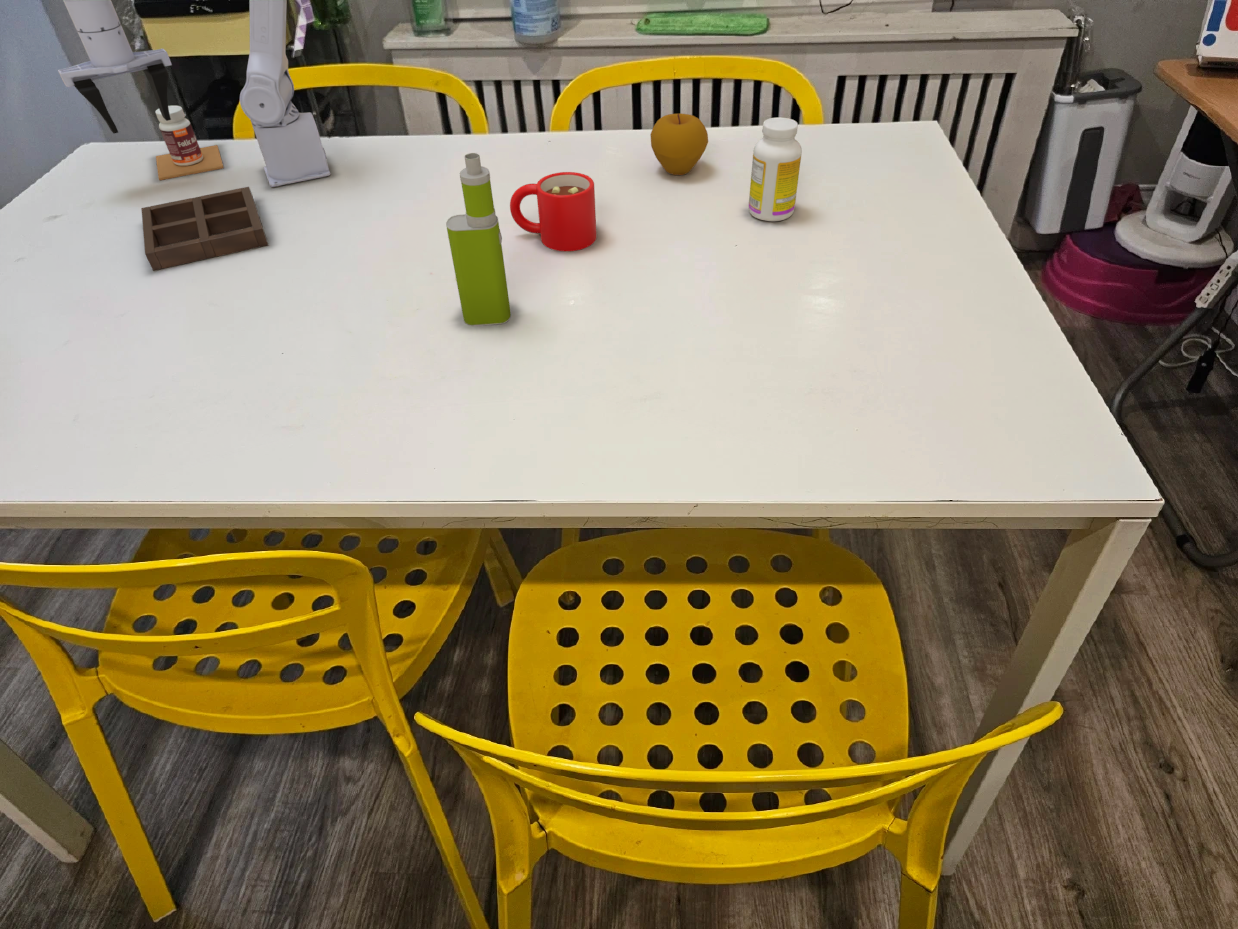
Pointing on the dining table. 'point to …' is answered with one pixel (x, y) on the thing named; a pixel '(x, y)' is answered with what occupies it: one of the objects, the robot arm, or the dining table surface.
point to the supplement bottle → (775, 171)
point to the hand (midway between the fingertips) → (141, 124)
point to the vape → (478, 250)
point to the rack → (201, 228)
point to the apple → (678, 142)
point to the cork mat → (172, 170)
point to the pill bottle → (179, 137)
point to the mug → (560, 210)
